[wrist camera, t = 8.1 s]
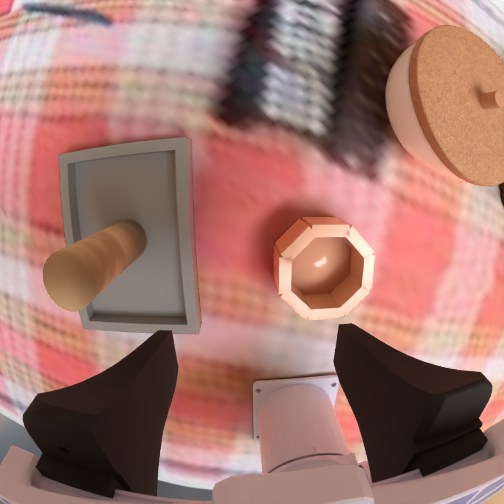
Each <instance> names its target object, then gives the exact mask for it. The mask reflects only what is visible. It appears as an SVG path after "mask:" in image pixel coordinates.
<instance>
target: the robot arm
mask: <svg viewBox="0 0 504 504" xmlns="http://www.w3.org/2000/svg"><path fill="white" fill-rule="evenodd" d="M333 362H334V366H335V370H336V373H337V375H326V376H317V377H306V378H294V379H280V380H261V381H255V382H254V383H253V426H254V443H255V444H257V445H260V449H261V462H262V474H246V475H239V476H231V477H229V478H227V479H224V480H222V481H220V482H218V483H216V484H215V486H214V488H213V491H212V501H194V500H182V499H172V498H163V497H157V481H158V467H159V457H160V449H161V442H162V435H163V430H164V425H165V422H166V418H167V415H168V411H169V408H170V404H171V401H172V398H173V394H174V391H175V387H176V381H177V374H178V363H177V357H176V352H175V346H174V340H173V334H172V330H158V331H157V332H155V333H154V334H153V335H152V336H151V337H149V338H148V339H147V340H146V341H145V342H144V343H142V344H141V345H140V346H139V347H138V348H136V349H135V350H134V351H133V352H132V353H130V354H129V355H127V356H126V357H125V358H123V359H122V360H121V361H119V362H118V363H117V364H115V365H113V366H112V367H110V368H109V369H107V370H105V371H103V372H102V373H100V374H98V375H96V376H94V377H91V378H89V379H87V380H85V381H83V382H80V383H77V384H75V385H72V386H69V387H66V388H62V389H59V390H54V391H50V392H45V393H39V394H37V396H36V397H35V398H34V400H33V401H32V403H31V404H30V406H29V407H28V408H27V410H26V411H25V413H24V414H23V422H24V426H25V428H26V429H27V431H28V433H29V435H30V436H31V437H32V439H33V440H34V442H35V443H36V445H37V446H38V447H39V449H40V450H41V451H42V455H41V457H40V459H39V458H38V457H37V456H35V455H34V454H32V453H30V452H27V451H25V450H23V449H20V448H18V447H16V446H11V448H10V450H9V451H8V453H7V455H6V456H5V458H4V460H3V462H2V463H1V465H0V500H1V501H2V502H3V503H5V504H481V503H483V502H484V501H486V500H487V499H489V498H490V497H492V496H493V495H495V494H496V493H497V492H499V491H500V490H502V488H504V419H503V420H501V421H500V422H498V423H496V424H494V425H493V426H491V427H489V428H488V429H487V430H486V431H485V432H484V433H483V432H482V431H481V429H480V427H481V426H482V422H481V421H480V419H479V417H480V415H481V413H482V412H483V410H484V408H485V406H486V405H487V403H488V401H489V399H490V396H491V393H492V384H491V383H490V382H489V380H488V379H487V378H486V377H485V376H484V375H483V374H482V373H481V372H475V371H463V370H456V369H450V368H445V367H441V366H437V365H434V364H430V363H427V362H424V361H421V360H418V359H416V358H413V357H411V356H409V355H406V354H404V353H402V352H400V351H398V350H396V349H394V348H392V347H390V346H389V345H387V344H385V343H383V342H382V341H380V340H378V339H377V338H375V337H374V336H372V335H370V334H369V333H367V332H366V331H364V330H362V329H361V328H359V327H358V326H356V325H354V324H352V323H350V324H340V325H339V327H338V334H337V341H336V348H335V355H334V361H333ZM339 382H340V384H341V386H342V389H343V391H344V393H345V395H346V397H347V400H348V402H349V404H350V406H351V408H352V410H353V413H354V415H355V417H356V420H357V423H358V426H359V429H360V432H361V436H362V439H363V443H364V447H365V451H366V455H367V460H368V461H363V462H361V463H359V466H358V463H357V460H356V457H355V454H354V453H351V454H350V451H349V448H348V446H347V443H346V440H345V437H344V434H343V432H342V429H341V426H340V423H339V421H338V418H337V415H336V413H335V410H334V405H335V400H336V395H337V391H338V386H339ZM332 383H334V384H332ZM257 389H261V390H257Z"/></svg>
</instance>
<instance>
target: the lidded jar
mask: <svg viewBox="0 0 504 504" xmlns="http://www.w3.org/2000/svg"><path fill="white" fill-rule="evenodd" d="M385 100H386V109H387V113H388V117H389V121H390V123H391V126H392V128H393V130H394V132H395V134H396V136H397V138H398V140H399V141H400V143H401V144H402V146H403V147H404V148H405V149H406V151H407V152H408V153H409V154H410V155H411V156H412V157H413V158H414V159H415V160H417V161H418V162H419V163H420V164H422V165H423V166H425V167H426V168H428V169H430V170H432V171H434V172H436V173H438V174H440V175H442V176H445V177H448V178H452V179H455V180H459V181H465V182H469V183H472V184H475V185H479V186H495V185H499V184H501V183H503V182H504V63H503V62H502V60H501V59H500V58H499V56H498V55H497V54H496V53H495V52H494V50H493V49H492V48H491V47H490V46H489V45H488V44H487V43H486V42H484V41H483V40H482V39H481V38H479V37H478V36H476V35H475V34H473V33H471V32H470V31H467V30H465V29H463V28H460V27H456V26H451V25H443V26H439V27H435V28H433V29H432V30H430V31H428V32H427V33H425V34H424V35H423V36H422V37H421V38H420V39H419V40H417V41H416V42H414V43H413V44H412V45H410V46H409V47H408V48H407V49H406V50H405V51H404V52H403V53H402V54H401V55H400V56H399V57H398V59H397V60H396V62H395V64H394V65H393V67H392V69H391V71H390V74H389V77H388V80H387V85H386V93H385Z"/></svg>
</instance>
